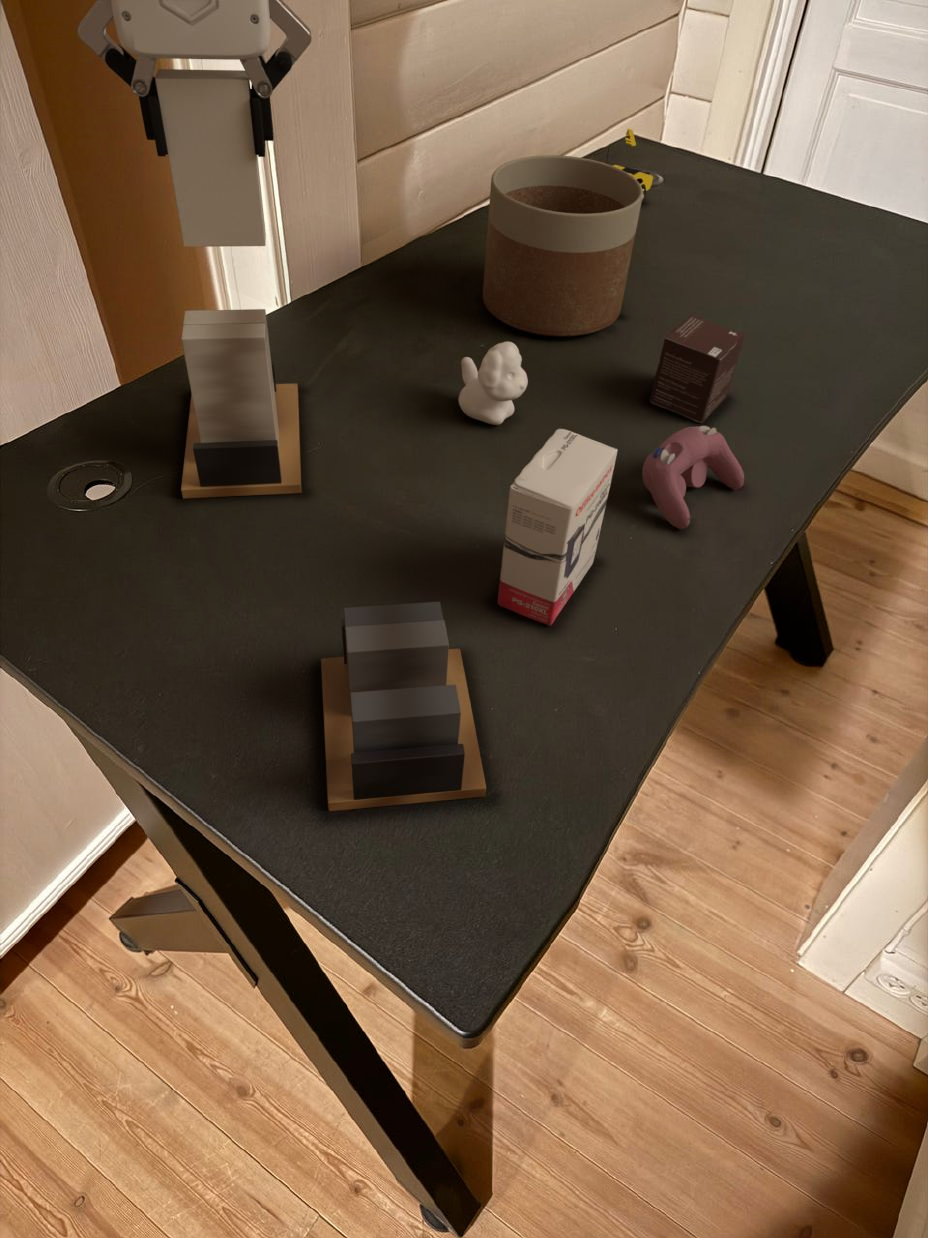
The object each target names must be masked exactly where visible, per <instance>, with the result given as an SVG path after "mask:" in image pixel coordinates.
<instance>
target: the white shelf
mask: <svg viewBox="0 0 928 1238" xmlns="http://www.w3.org/2000/svg"><path fill="white" fill-rule="evenodd" d="M180 339H181V344H182V350H183V356H184V362H185V366H186V371H187V372H186V373H187V377H188V382H189V387H190V388H189V389H190V392H191V396H190V405H189V415H188V422H187V424H188V425H187V432H186V439H185V440H186V442H185V448H184V449H185V450H184V457H183V458H184V459H183V467H182V478H181V484H180V485H181V486H180V492H181V497H182V499H202V498H224V497H225V498H226V497H245V496H247V497H249V496H268V495H269V496H270V495H288V494H289V495H291V494H301V493H302V492H303V491H302V465H301V440H300V438H301V437H300V436H301V435H300V405H299V386H298V383H296V382H295V383H293V382H292V383H277V379H276V370H275V362H274V360H272V358H271V348H270V347H271V346H270V338H269V330H268V321H267V312H266V308H254V309H253V308H250V309H249V308H248V309H247V308H246V309H201V310H200V309H199V310H197V309H196V310H184V316H183V323H182V330H181V338H180Z"/></svg>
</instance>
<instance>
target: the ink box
mask: <svg viewBox="0 0 928 1238" xmlns="http://www.w3.org/2000/svg"><path fill="white" fill-rule="evenodd" d="M617 455H618V448H616V447H613V446H611V445H610V446H609V445H607V444H605V443H602V442H600V441H597V440H594V439H592V438H589V437H586V436H584V435H581V434H579V433H576V432H574V431H571V430H568V429H565V428H557V429H556V430H555V431H554V433H553V434H552V435H551V436H550V437H549V438H548V439H547V440H546V442H545V443H544V444H543V446H542V447H541V448H540V449H539V450H538V451H537V452H536V453H535V454H534V456H533V457H532V459H531V460H530V461H529V462H528V463H527V464H526V465H525V466H524V467H523V469H522V470H521V472H520V473H519V474H518V476H516V477H515V478H514V481H513V482H512V483H511V485H510V486H509V492H508V502H507V511H506V512H507V513H506V520H505V529H504V540H503V541H504V542H503V549H502V558H501V569H500V577H499V585H498V596H497V604H498V606H500V607H502V608H504V609H507V610H509V611H512V612H514V613H516V614H518V615H521V616H523V617H526V618H528V619H531V620H534V621H536V622H539V623H541V624H545V625H547V626H549V627H551V626H552V625H553V624H554V622H555V621H556V619H557V617H558V616H559V614H560V613H561V611H562V610H563V608H564V607H565V605H566V604H567V602H568V601H569V600H570V598H571V597H572V595H573V594H574V592H575V591H576V589H577V588H578V586H579V585H580V584H581V582H582V580H583V579H584V577H585V576H586V574H587V573H588V571H590V568H591V567H592V565H593V563H594V561H595V556H596V551H597V547H598V543H599V539H600V534H601V531H602V530H601V529H602V524H603V521H604V516H605V511H606V507H607V501H608V498H609V493H610V490H611V489H610V488H611V484H612V480H613V474H614V470H615V465H616V461H617Z"/></svg>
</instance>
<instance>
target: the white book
mask: <svg viewBox="0 0 928 1238" xmlns="http://www.w3.org/2000/svg"><path fill="white" fill-rule="evenodd" d="M155 81H156V87H157V93H158V98H159V103H160V109H161V115H162V120H163V126H164V132H165V138H166V144H167V150H168V155H167V156H168V163H169V168H170V174H171V179H172V186H173V192H174V197H175V202H176V208H177V214H178V220H179V221H178V222H179V227H180V231H181V237H182V242H183V243H182V244H183V247H184V248H197V247H198V248H205V247H206V248H207V247H208V248H210V247H213V248H214V247H266V244H267V243H266V240H267V237H266V236H267V233H266V225H265V224H266V223H265V214H264V205H263V204H264V203H263V195H262V184H261V176H260V165H259V157H258V155H255V148H254V138H253V129H252V120H251V110H250V92H251V89H252V88H251V81H250V79H249V77H248V75H247V73H246V71H245V69H244V70H240V69H239V70H235V69H234V70H233V69H185V68H184V69H182V68H180V69H178V68H177V69H176V68H175V69H174V68H158V69H157V71H156V75H155Z"/></svg>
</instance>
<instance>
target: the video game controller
mask: <svg viewBox="0 0 928 1238" xmlns="http://www.w3.org/2000/svg"><path fill="white" fill-rule="evenodd" d="M708 468H709V469H710V470H711V471H712V472H713V473H714V475H715V476H716V477H717V478H718V479H719V481H721V482H722V483H723V484H724V485H725V486H726V487H728V488H730V489H732V490H735V491H737V490H739V489H741V488H742V487H743V486H744V483H745V474H744V470H743V468H742V466H741V464H740V462H739V461H738V460H737V457H735V455H734V453H733V452H732V450H731V448H730V447H729V445H728V443H727V441H726V439H725V437H724V435H723V434H722V433H720V432H719V431H717V428H716V427H709V426H708V425H701V426H699V425H698V426H697V425H696V426H687V427H684V428H681V429H680V430H677V431H676V432H674V433H673V434H671V435H670V436H668V437H667V439H665V440H664V441H663V442H662V443H661V444H660V445H659V447H658V448H657V449H656V450H655V451H653V452H651V453H650V454H649V455H648V456H647V457H646V458H645V460H644V461H643V466H642V470H641V471H642V472H641V473H642V481H643V485H644V487H645V488H646V489H647V490H648V491H649V493H650V495H651V497H652V499H653V501H654V503H655V505H656V507H657V509H658V510H659V511H660V513H661V514H662V516H663V518H665V520H666V521H667V522H668V523H669V524H670V525H672V526H673V527H675V528H676V529H679V530H684V529H687V528H688V527H689V525H690V523H691V515H690V511H689V507H688V505H687V503H686V501H685V499H684V497H685V495H686V492H687V488H701V487H702V486H703V485H704V484H705V482H706V479H707V472H708Z"/></svg>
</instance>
